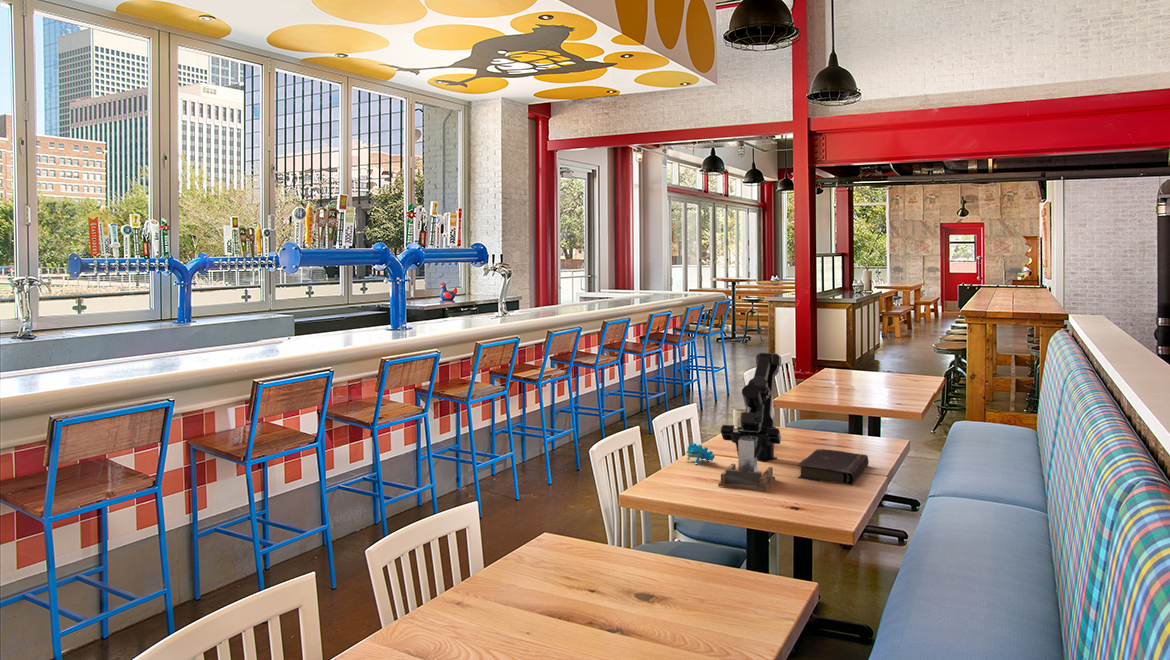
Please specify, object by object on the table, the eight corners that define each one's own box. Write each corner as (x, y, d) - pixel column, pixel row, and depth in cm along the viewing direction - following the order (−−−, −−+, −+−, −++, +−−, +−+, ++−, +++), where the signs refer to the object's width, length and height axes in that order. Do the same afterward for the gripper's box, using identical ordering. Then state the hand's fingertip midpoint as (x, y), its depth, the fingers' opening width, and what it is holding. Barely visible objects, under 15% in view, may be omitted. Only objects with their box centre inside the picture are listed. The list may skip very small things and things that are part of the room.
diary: (868, 468, 261) (869, 454, 261) (853, 487, 240) (854, 472, 239) (813, 461, 271) (814, 447, 270) (794, 479, 249) (794, 464, 249)
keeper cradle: (729, 475, 254) (729, 454, 253) (775, 479, 248) (775, 458, 247) (718, 486, 241) (718, 464, 241) (765, 491, 235) (765, 469, 234)
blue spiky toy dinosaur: (720, 458, 269) (705, 442, 265) (714, 472, 266) (698, 456, 262) (697, 457, 277) (681, 441, 273) (690, 471, 275) (675, 455, 270)
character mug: (746, 446, 292) (746, 413, 291) (728, 444, 296) (728, 411, 295) (756, 440, 301) (756, 408, 300) (739, 439, 305) (739, 406, 304)
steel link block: (741, 472, 249) (741, 436, 248) (757, 474, 247) (757, 437, 246) (738, 476, 244) (738, 440, 243) (754, 478, 242) (754, 441, 241)
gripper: (721, 400, 251) (713, 440, 242) (779, 403, 243) (773, 445, 234) (727, 419, 259) (719, 459, 249) (783, 422, 251) (777, 464, 242)
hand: (746, 456), depth 244 cm, fingers closed on steel link block, 5 cm apart
